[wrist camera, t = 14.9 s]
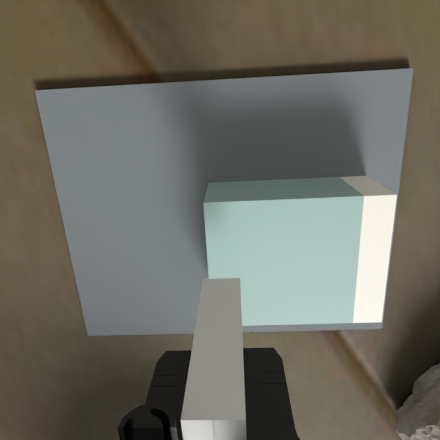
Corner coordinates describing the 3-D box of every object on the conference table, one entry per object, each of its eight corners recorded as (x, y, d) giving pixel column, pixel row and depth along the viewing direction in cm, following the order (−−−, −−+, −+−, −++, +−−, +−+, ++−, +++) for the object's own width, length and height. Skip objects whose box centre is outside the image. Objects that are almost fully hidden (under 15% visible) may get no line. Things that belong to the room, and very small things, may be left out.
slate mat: (89, 332, 25) (87, 335, 25) (38, 90, 20) (34, 90, 19) (379, 325, 24) (382, 328, 24) (409, 68, 19) (413, 68, 18)
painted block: (212, 326, 19) (381, 322, 19) (203, 202, 17) (396, 194, 16) (215, 288, 23) (356, 283, 22) (208, 182, 21) (366, 175, 20)
